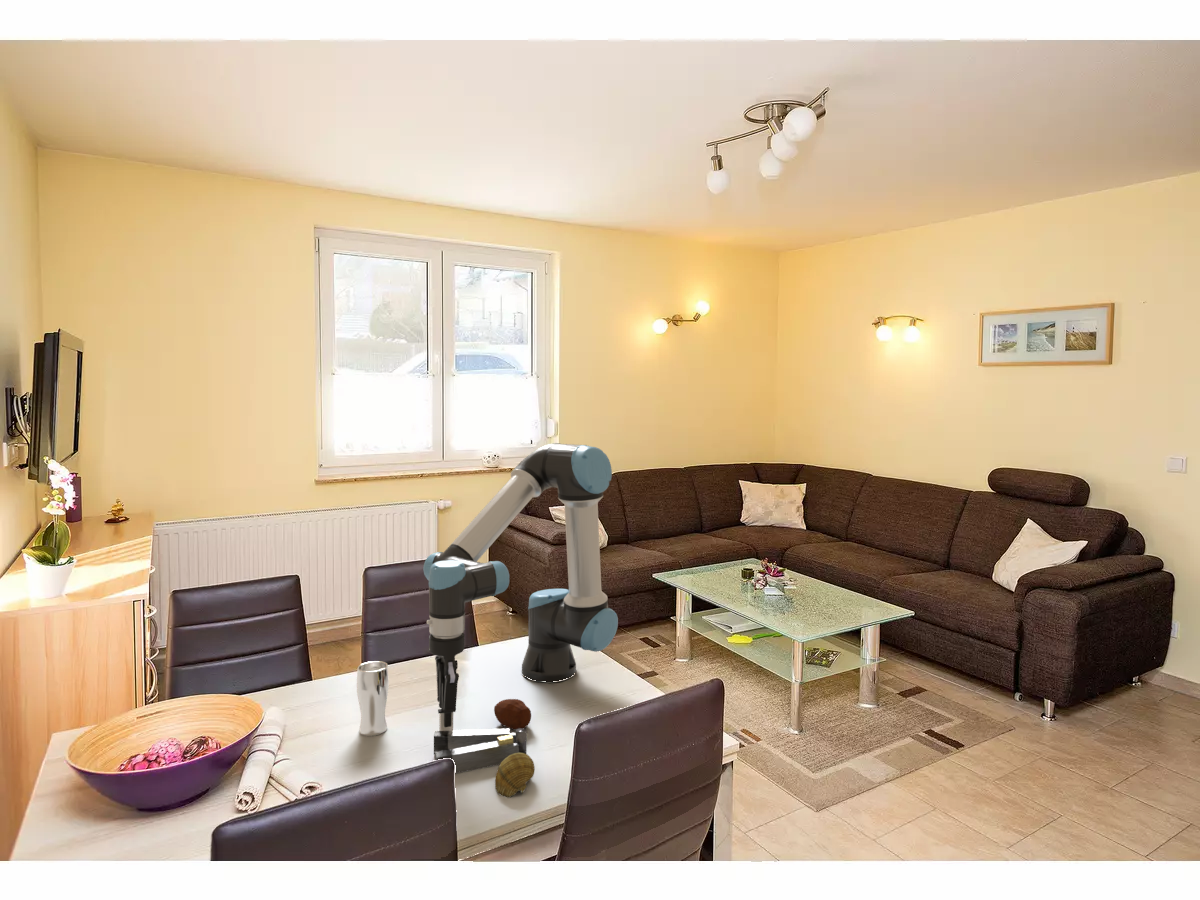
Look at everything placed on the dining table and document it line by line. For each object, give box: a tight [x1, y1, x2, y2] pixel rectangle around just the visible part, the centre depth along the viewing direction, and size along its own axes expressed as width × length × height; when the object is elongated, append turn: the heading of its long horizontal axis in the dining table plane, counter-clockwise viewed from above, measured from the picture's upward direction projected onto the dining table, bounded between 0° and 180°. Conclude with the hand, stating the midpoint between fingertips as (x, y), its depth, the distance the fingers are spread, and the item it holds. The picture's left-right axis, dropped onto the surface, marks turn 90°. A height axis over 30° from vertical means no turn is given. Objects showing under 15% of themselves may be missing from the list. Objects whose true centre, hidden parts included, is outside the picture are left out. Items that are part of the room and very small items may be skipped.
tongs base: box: [434, 728, 528, 774], centre depth 150 cm, size 20×4×5 cm, turn 114°
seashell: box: [494, 753, 535, 799], centre depth 142 cm, size 10×7×8 cm
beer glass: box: [356, 660, 390, 737], centre depth 163 cm, size 7×7×15 cm
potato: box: [493, 698, 532, 731], centre depth 167 cm, size 7×9×6 cm
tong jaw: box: [433, 728, 515, 756], centre depth 155 cm, size 17×2×4 cm, turn 97°
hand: (446, 738), depth 156 cm, fingers closed
